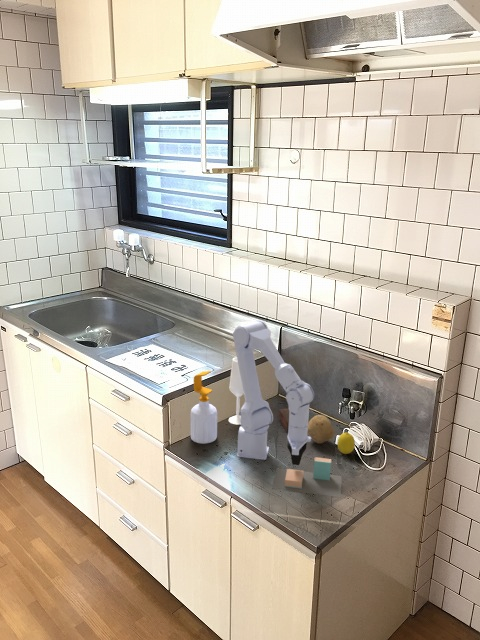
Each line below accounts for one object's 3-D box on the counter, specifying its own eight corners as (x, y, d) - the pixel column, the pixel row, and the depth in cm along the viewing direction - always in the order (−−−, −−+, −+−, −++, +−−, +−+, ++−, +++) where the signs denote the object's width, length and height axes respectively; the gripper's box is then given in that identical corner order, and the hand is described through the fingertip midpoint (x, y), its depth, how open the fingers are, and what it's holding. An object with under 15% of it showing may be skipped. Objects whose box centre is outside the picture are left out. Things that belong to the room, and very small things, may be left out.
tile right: (313, 478, 169) (314, 461, 168) (313, 474, 171) (314, 457, 170) (329, 480, 169) (331, 463, 167) (329, 476, 171) (331, 459, 169)
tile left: (286, 475, 171) (284, 486, 165) (287, 468, 170) (285, 479, 164) (303, 477, 170) (301, 488, 164) (303, 470, 169) (302, 482, 164)
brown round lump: (300, 437, 194) (302, 411, 190) (323, 433, 197) (325, 408, 194) (313, 450, 186) (315, 423, 182) (336, 446, 189) (339, 419, 186)
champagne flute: (234, 426, 200) (236, 364, 193) (225, 418, 206) (226, 357, 198) (250, 421, 204) (252, 360, 196) (240, 414, 209) (242, 354, 202)
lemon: (353, 459, 181) (355, 437, 178) (336, 457, 182) (338, 435, 179) (353, 450, 186) (355, 429, 184) (336, 448, 187) (338, 427, 185)
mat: (272, 489, 164) (272, 488, 164) (276, 469, 174) (276, 468, 174) (340, 498, 161) (341, 497, 161) (341, 477, 171) (341, 476, 171)
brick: (278, 420, 206) (278, 408, 204) (288, 419, 207) (289, 407, 205) (287, 434, 196) (287, 422, 194) (297, 433, 197) (298, 421, 195)
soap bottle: (207, 447, 186) (207, 379, 179) (185, 439, 191) (184, 372, 183) (222, 435, 193) (223, 370, 186) (200, 428, 198) (200, 364, 190)
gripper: (310, 437, 158) (307, 478, 162) (313, 414, 172) (310, 452, 176) (285, 434, 159) (283, 475, 163) (290, 411, 173) (288, 450, 177)
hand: (295, 463), depth 170 cm, fingers closed
